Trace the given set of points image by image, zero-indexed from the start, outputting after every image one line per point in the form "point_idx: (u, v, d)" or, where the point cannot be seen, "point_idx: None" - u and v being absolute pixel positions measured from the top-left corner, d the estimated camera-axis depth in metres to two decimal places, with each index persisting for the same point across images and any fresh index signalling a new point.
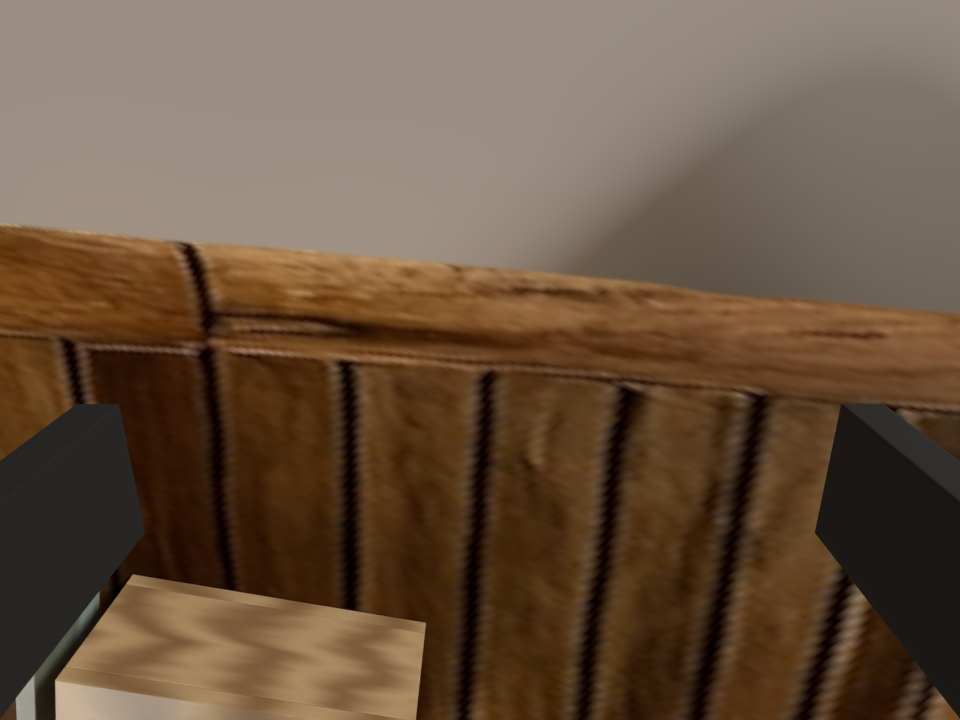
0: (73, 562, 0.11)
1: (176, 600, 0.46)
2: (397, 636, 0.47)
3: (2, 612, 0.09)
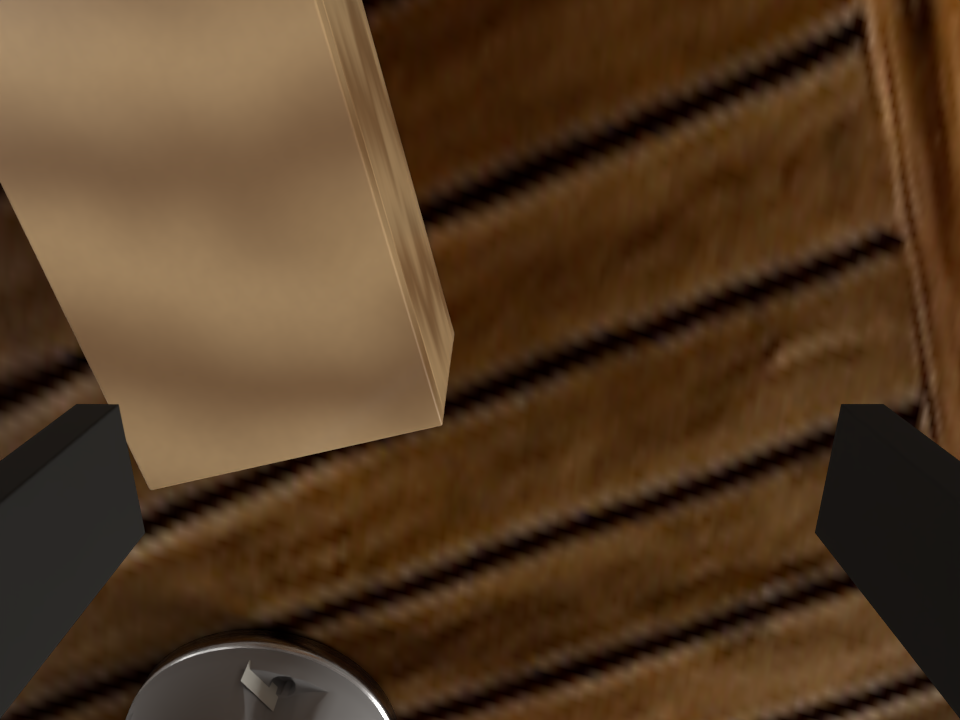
0: (73, 562, 0.11)
1: None
2: (441, 307, 0.29)
3: (2, 612, 0.09)
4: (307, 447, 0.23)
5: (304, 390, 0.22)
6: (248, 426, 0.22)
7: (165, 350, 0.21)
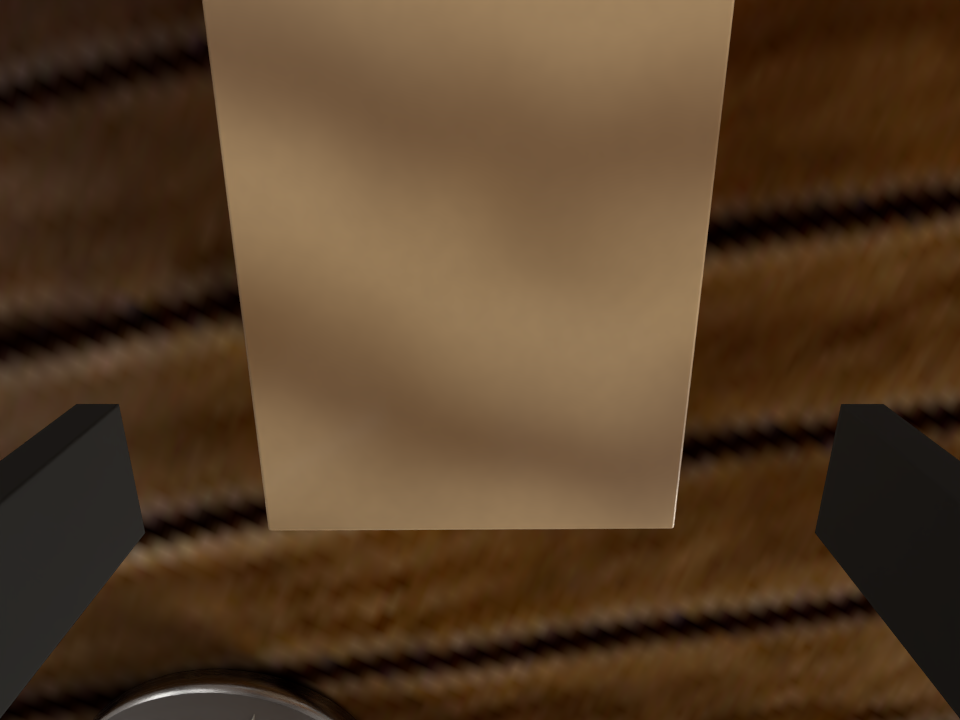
0: (73, 562, 0.11)
1: None
2: None
3: (3, 612, 0.09)
4: (496, 520, 0.17)
5: (520, 450, 0.17)
6: (430, 478, 0.17)
7: (358, 360, 0.16)
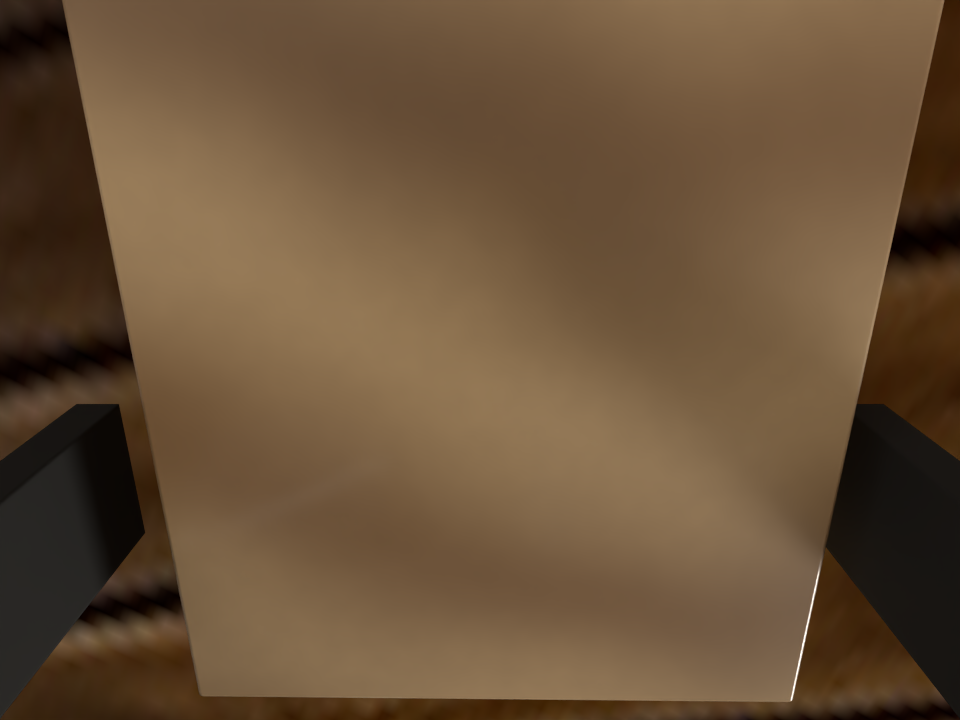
0: (73, 562, 0.11)
1: None
2: None
3: (2, 612, 0.09)
4: (531, 688, 0.12)
5: (569, 595, 0.11)
6: (434, 632, 0.11)
7: (323, 467, 0.10)
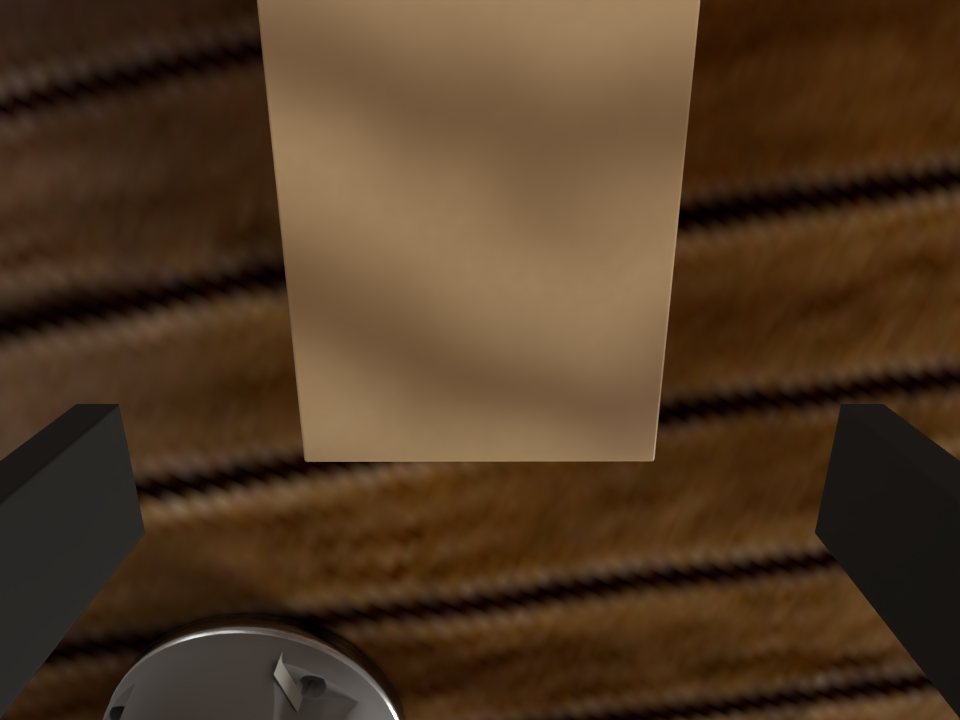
0: (73, 562, 0.11)
1: None
2: None
3: (2, 613, 0.09)
4: (500, 453, 0.20)
5: (521, 391, 0.19)
6: (444, 416, 0.20)
7: (383, 312, 0.19)
